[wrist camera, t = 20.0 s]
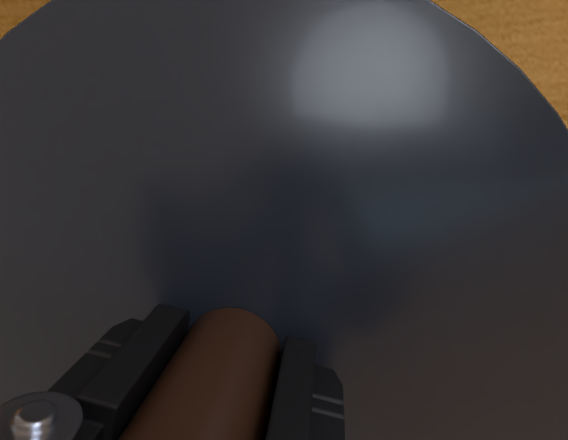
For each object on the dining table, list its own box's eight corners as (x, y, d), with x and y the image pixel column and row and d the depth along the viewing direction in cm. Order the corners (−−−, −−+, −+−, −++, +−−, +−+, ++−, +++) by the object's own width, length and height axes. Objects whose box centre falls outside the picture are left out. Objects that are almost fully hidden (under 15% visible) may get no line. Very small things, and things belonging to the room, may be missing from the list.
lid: (732, 60, 9) (1597, -52, 3) (460, 640, 14) (566, 1069, 7) (-60, -104, 10) (-704, -458, 4) (-60, 494, 14) (-344, 772, 8)
